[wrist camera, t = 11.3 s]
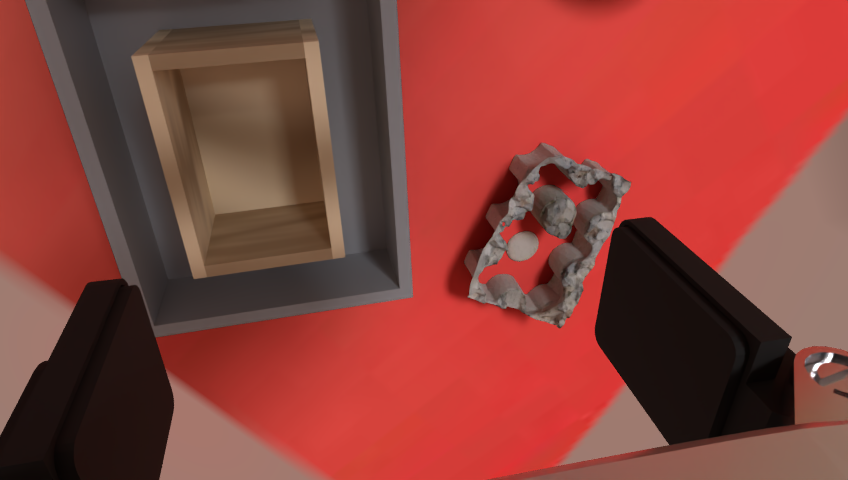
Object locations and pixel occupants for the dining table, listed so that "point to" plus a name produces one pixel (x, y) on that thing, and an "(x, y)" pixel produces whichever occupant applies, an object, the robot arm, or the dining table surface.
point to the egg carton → (557, 220)
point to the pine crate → (244, 143)
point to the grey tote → (145, 181)
